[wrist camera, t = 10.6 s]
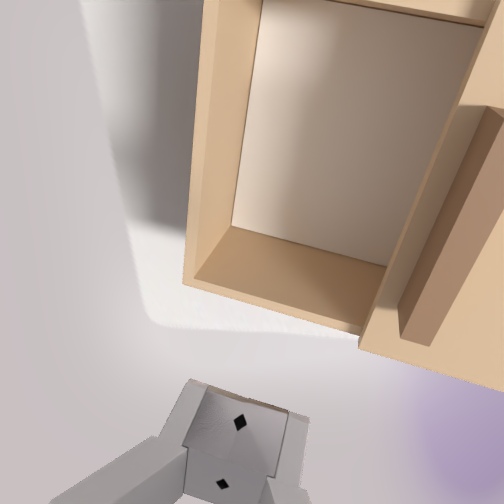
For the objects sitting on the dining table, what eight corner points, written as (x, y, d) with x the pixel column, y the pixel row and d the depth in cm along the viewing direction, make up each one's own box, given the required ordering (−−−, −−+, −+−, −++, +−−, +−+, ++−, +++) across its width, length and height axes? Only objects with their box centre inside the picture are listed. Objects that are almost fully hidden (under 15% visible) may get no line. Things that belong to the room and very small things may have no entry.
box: (257, -28, 28) (207, -48, 19) (568, 26, 25) (667, 28, 16) (224, 226, 38) (182, 284, 30) (439, 284, 35) (459, 365, 27)
